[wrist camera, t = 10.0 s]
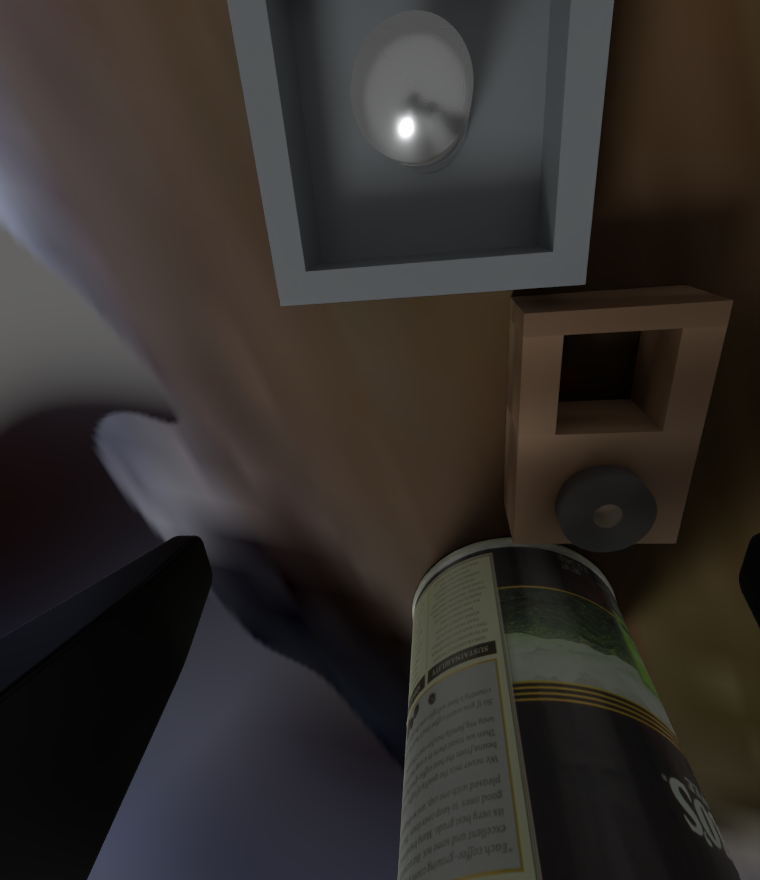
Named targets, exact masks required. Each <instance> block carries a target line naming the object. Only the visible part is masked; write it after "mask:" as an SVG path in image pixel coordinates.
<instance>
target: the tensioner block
mask: <svg viewBox="0 0 760 880" xmlns="http://www.w3.org/2000/svg"><path fill="white" fill-rule="evenodd" d="M733 301H734V300H731V299H728V298H725V297H722V296H719V295H716V294H713V293H710V292H706V291H703V290H700V289H697V288H694V287H691V286H688V285H675V286H661V287H646V288H632V289H617V290H603V291H588V292H574V293H559V294H545V295H530V296H516V297H510V326H509V355H508V384H507V414H506V443H505V472H504V506H505V510H506V514H507V519H508V523H509V527H510V532H511V536H512V541H513V544H574V545H575V546H577V547H579V548H581V549H584V550H587V551H591V552H602V553H603V552H613V551H618V550H622V549H624V548H627V547H629V546H631V545H633V544H676V541H677V537H678V533H679V529H680V524H681V520H682V516H683V512H684V508H685V503H686V499H687V495H688V491H689V486H690V482H691V478H692V474H693V470H694V465H695V461H696V457H697V453H698V448H699V444H700V440H701V436H702V432H703V427H704V423H705V419H706V415H707V410H708V406H709V402H710V398H711V394H712V389H713V385H714V381H715V377H716V372H717V368H718V364H719V360H720V356H721V351H722V347H723V343H724V339H725V334H726V330H727V326H728V322H729V318H730V313H731V309H732V305H733ZM627 331H641V334H640V340H639V346H638V353H637V359H636V365H635V372H634V378H633V385H632V391H631V397H630V399H616V400H591V401H566V402H558V397H559V386H560V374H561V362H562V351H563V339H564V335H575V334H593V333H610V332H627Z"/></svg>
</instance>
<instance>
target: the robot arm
mask: <svg viewBox="0 0 760 880" xmlns="http://www.w3.org/2000/svg"><path fill="white" fill-rule="evenodd" d="M211 584H212V569H211V566H210V563H209V560H208V556H207V553H206V550H205V547H204V544H203V541H202V540H201V538H200V537H198V536H175V537H173V538H171V539H170V540H168V541H166V542H165V543H163V544H161V545H159V546H158V547H156V548H154V549H153V550H151V551H149V552H147V553H146V554H144V555H143V556H141V557H139V558H137V559H135V560H134V561H132V562H130V563H129V564H127V565H125V566H123V567H122V568H120V569H119V570H117V571H115V572H113V573H112V574H110V575H108V576H106V577H105V578H103V579H101V580H100V581H98V582H96V583H94V584H93V585H91V586H90V587H88V588H86V589H84V590H82V591H81V592H79V593H77V594H76V595H74V596H72V597H70V598H69V599H67V600H65V601H64V602H62V603H60V604H59V605H57V606H55V607H53V608H52V609H50V610H48V611H46V612H45V613H43V614H41V615H40V616H38V617H36V618H34V619H33V620H31V621H29V622H28V623H26V624H24V625H22V626H21V627H19V628H17V629H16V630H14V631H12V632H11V633H9V634H7V635H5V636H4V637H2V638H0V880H87V878H88V876H89V874H90V872H91V870H92V867H93V865H94V863H95V861H96V859H97V856H98V854H99V852H100V850H101V847H102V845H103V843H104V841H105V839H106V836H107V834H108V832H109V830H110V828H111V825H112V823H113V821H114V819H115V817H116V814H117V812H118V810H119V808H120V806H121V803H122V801H123V799H124V797H125V794H126V792H127V790H128V788H129V786H130V784H131V781H132V779H133V777H134V774H135V772H136V770H137V768H138V766H139V764H140V761H141V759H142V757H143V755H144V753H145V750H146V748H147V746H148V744H149V742H150V739H151V737H152V735H153V733H154V730H155V728H156V726H157V724H158V722H159V719H160V717H161V715H162V713H163V711H164V709H165V706H166V704H167V702H168V699H169V697H170V695H171V693H172V691H173V689H174V687H175V684H176V682H177V680H178V678H179V675H180V673H181V671H182V668H183V666H184V663H185V661H186V658H187V655H188V652H189V650H190V647H191V644H192V641H193V638H194V635H195V632H196V629H197V626H198V623H199V620H200V617H201V614H202V611H203V608H204V605H205V602H206V599H207V596H208V593H209V590H210V587H211ZM739 584H740V588H741V591H742V593H743V595H744V597H745V599H746V601H747V603H748V605H749V607H750V609H751V612H752V614H753V616H754V618H755V620H756V622H757V624H758V626H759V628H760V533H758V534H756V535H754V536H753V537H752V538H751V540H750V542H749V545H748V548H747V551H746V554H745V557H744V561H743V564H742V567H741V570H740V574H739Z"/></svg>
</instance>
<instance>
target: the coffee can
mask: <svg viewBox="0 0 760 880" xmlns="http://www.w3.org/2000/svg"><path fill="white" fill-rule="evenodd" d="M412 616H413V636H412V651H411V667H410V686H409V702H408V718H407V735H406V752H405V769H404V785H403V801H402V817H401V833H400V834H401V835H400V850H399V851H400V852H399V867H398V880H741V878H740V875H739V873H738V872H737V870H736V868H735V865H734V863H733V861H732V859H731V857H730V854H729V852H728V849H727V847H726V845H725V843H724V840H723V838H722V836H721V834H720V832H719V829H718V826H717V824H716V822H715V820H714V819H713V817H712V815H711V812H710V810H709V807H708V805H707V802H706V800H705V798H704V796H703V794H702V792H701V790H700V788H699V785H698V783H697V781H696V778H695V776H694V774H693V772H692V770H691V768H690V765H689V763H688V760H687V758H686V756H685V754H684V752H683V750H682V747H681V745H680V743H679V741H678V739H677V736H676V734H675V732H674V730H673V728H672V725H671V723H670V721H669V719H668V716H667V714H666V712H665V710H664V707H663V705H662V703H661V701H660V699H659V696H658V694H657V692H656V690H655V688H654V685H653V683H652V681H651V679H650V677H649V674H648V672H647V670H646V668H645V665H644V663H643V661H642V659H641V657H640V654H639V652H638V650H637V647H636V645H635V643H634V641H633V639H632V636H631V633H630V631H629V629H628V627H627V625H626V623H625V621H624V618H623V616H622V614H621V612H620V610H619V608H618V605H617V602H616V599H615V595H614V592H613V589H612V587H611V585H610V584H609V582H608V580H607V579H606V577H605V576H604V575H603V573H602V572H601V571H600V570H599V569H598V568H597V567H596V566H595V565H594V564H593V563H591V562H590V561H589V560H588V559H586V558H585V557H584V556H582V555H581V554H579V553H577V552H575V551H574V550H572V549H569V548H567V547H565V546H562V545H559V544H513V541H512V537H505V538H496V539H489V540H484V541H479V542H476V543H473V544H471V545H468V546H465V547H463V548H461V549H459V550H456V551H454V552H452V553H451V554H449V555H448V556H446V557H445V558H443V559H442V560H440V561H439V562H438V563H437V564H436V565H435V566H433V567H432V568H431V569H430V570H429V572H428V573H427V574H426V575H425V576H424V577H423V579H422V580H421V582H420V584H419V586H418V589H417V591H416V593H415V596H414V601H413V606H412Z"/></svg>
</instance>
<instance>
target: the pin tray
mask: <svg viewBox="0 0 760 880" xmlns="http://www.w3.org/2000/svg"><path fill="white" fill-rule="evenodd" d="M227 3H228V8H229V14H230V20H231V25H232V31H233V37H234V43H235V48H236V54H237V60H238V65H239V71H240V77H241V83H242V88H243V94H244V100H245V105H246V111H247V117H248V122H249V128H250V134H251V140H252V145H253V151H254V157H255V162H256V168H257V174H258V179H259V185H260V191H261V197H262V202H263V208H264V214H265V219H266V225H267V231H268V237H269V242H270V248H271V254H272V259H273V265H274V271H275V276H276V282H277V288H278V294H279V299H280V305H281V306H291V305H305V304H319V303H334V302H348V301H362V300H376V299H390V298H404V297H418V296H432V295H446V294H460V293H474V292H488V291H502V290H517V289H531V288H545V287H559V286H573V285H585V284H586V274H587V264H588V254H589V244H590V234H591V224H592V214H593V204H594V194H595V185H596V175H597V165H598V155H599V145H600V135H601V125H602V115H603V105H604V95H605V85H606V75H607V66H608V56H609V46H610V36H611V26H612V16H613V6H614V0H227ZM409 10H423V11H427V12H431V13H434V14H436V15H438V16H440V17H442V18H443V19H445V20H446V21H447V22H449V23H450V24H451V25H452V26H453V27H454V28H455V29H456V30H457V32H458V33H459V34H460V36H461V37H462V39H463V41H464V43H465V45H466V47H467V49H468V52H469V55H470V58H471V62H472V67H473V77H474V85H473V96H472V102H471V108H470V115H469V121H468V127H467V133H466V138H465V141H464V144H463V147H462V149H461V151H460V153H459V154H458V156H457V157H456V158H455V159H454V161H453V162H452V163H451V164H450V165H448V166H447V167H446V168H444V169H442V170H441V171H438V172H436V173H432V174H418V173H414V172H412V171H410V170H408V169H406V168H405V167H403V166H401V165H400V164H398V163H397V162H395V161H393V160H392V159H390V158H388V157H387V156H385V155H384V154H382V153H380V152H379V151H378V150H376V149H375V148H374V147H373V146H372V145H371V144H370V143H369V142H368V141H367V139H366V138H365V136H364V135H363V133H362V132H361V130H360V128H359V126H358V124H357V121H356V119H355V115H354V112H353V107H352V102H351V79H352V72H353V68H354V64H355V60H356V58H357V55H358V52H359V50H360V49H361V47H362V45H363V43H364V41H365V40H366V38H367V37H368V35H369V34H370V33H371V32H372V31H373V30H374V28H376V27H377V26H378V25H379V24H380V23H381V22H383V21H384V20H386V19H387V18H388V17H390V16H393V15H395V14H397V13H400V12H403V11H409Z"/></svg>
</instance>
